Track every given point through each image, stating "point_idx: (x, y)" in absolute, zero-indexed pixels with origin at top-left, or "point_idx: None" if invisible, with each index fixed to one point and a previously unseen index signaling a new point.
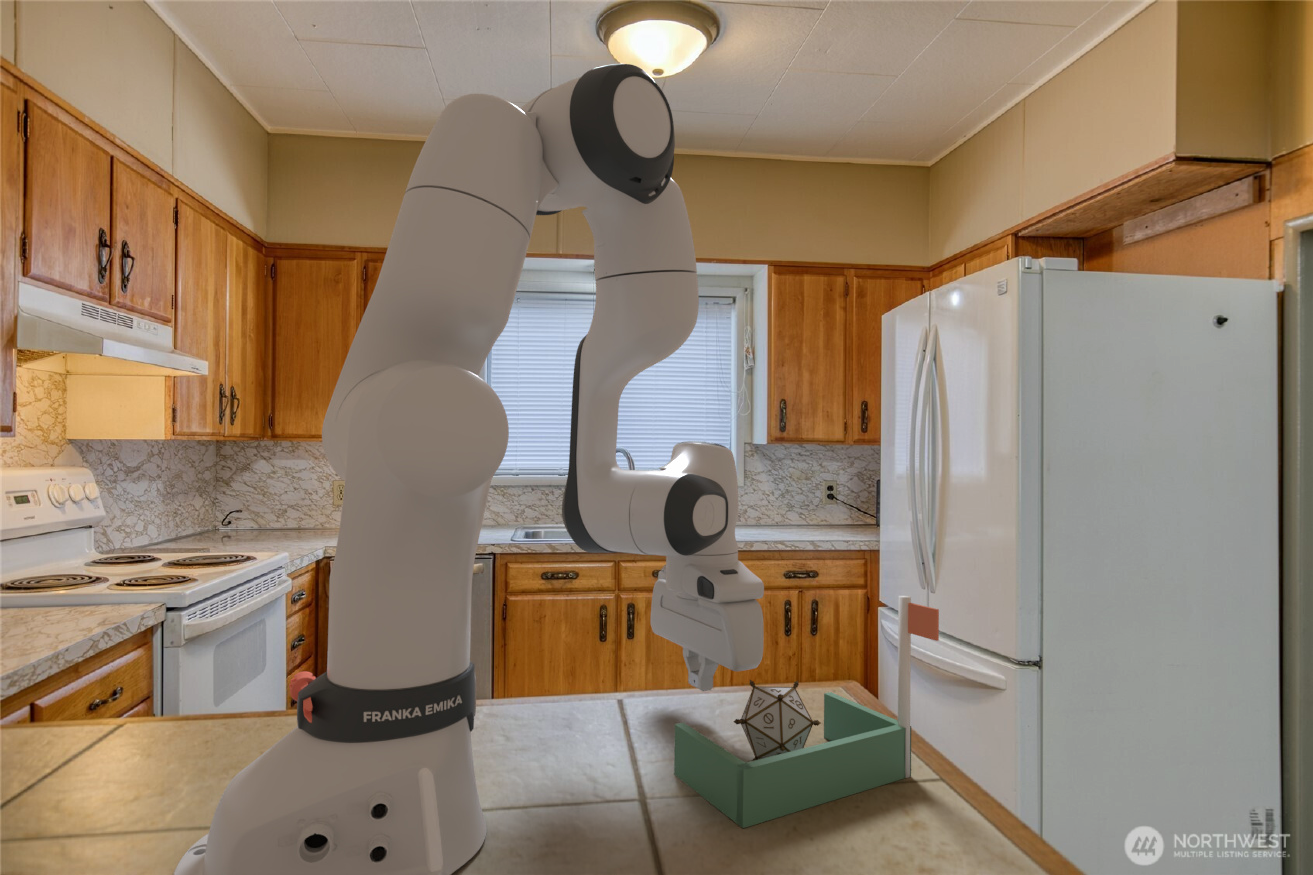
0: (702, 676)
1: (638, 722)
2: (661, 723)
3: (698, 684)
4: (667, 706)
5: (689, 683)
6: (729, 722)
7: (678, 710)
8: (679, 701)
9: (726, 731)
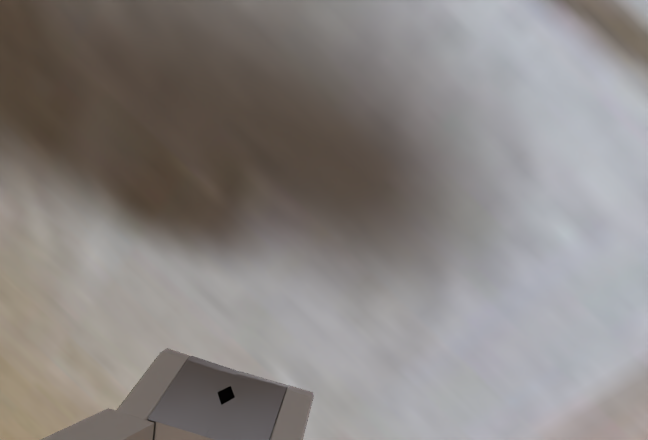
0: (102, 417)
1: (454, 20)
2: (352, 114)
3: (178, 373)
4: (497, 298)
5: (302, 390)
6: (178, 334)
7: (418, 296)
8: (497, 378)
9: (112, 259)
